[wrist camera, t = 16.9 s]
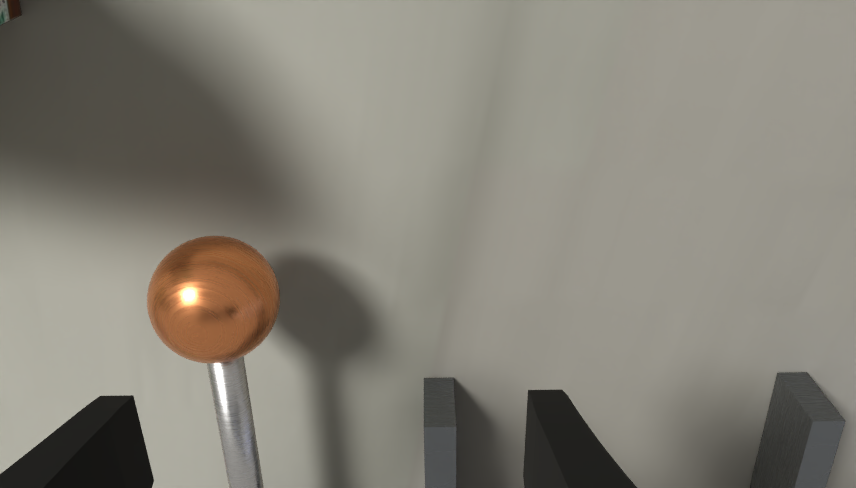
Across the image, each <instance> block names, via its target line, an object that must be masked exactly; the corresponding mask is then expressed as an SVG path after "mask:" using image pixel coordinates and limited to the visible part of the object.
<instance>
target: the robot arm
mask: <svg viewBox="0 0 856 488" xmlns="http://www.w3.org/2000/svg"><path fill="white" fill-rule="evenodd" d="M523 477H524V486H525V488H637V487H636V486H635V485H634V484H633V482H632V481H631V480H630V479H629V478H628V477H627V475H626V474H625V473H624V472H623V470H622V469H621V468H620V467H619V466H618V464H617V463H616V462H615V461H614V459H613V458H612V457H611V456H610V454H609V453H608V452H607V451H606V449H605V448H604V447H603V446H602V444H601V443H600V442H599V440H598V439H597V438H596V436H595V435H594V433H593V432H592V431H591V429H590V428H589V427H588V425H587V424H586V422H585V421H584V420H583V418H582V417H581V415H580V414H579V412H578V411H577V409H576V408H575V406H574V405H573V403H572V402H571V400H570V399H569V397H568V395H567V394H566V393H565V392H564V391H563V390H528V402H527V420H526V438H525V456H524V474H523ZM153 482H154V479H153V475H152V471H151V467H150V463H149V458H148V454H147V450H146V446H145V442H144V438H143V434H142V430H141V425H140V421H139V417H138V413H137V409H136V405H135V401H134V397H133V396H100V397H98V398H97V399H95V400H94V401H93V402H91V403H90V404H89V405H87V406H86V407H85V408H83V409H82V410H81V411H79V412H78V413H77V414H76V415H74V416H73V417H72V418H71V419H69V420H68V421H67V422H66V423H64V424H63V425H62V426H61V427H59V428H58V429H57V430H56V431H54V432H53V433H52V434H51V435H49V436H48V437H47V438H46V439H44V440H43V441H42V442H41V443H39V444H38V445H37V446H36V447H34V448H33V449H32V450H31V451H29V452H28V453H27V454H25V455H24V456H23V457H22V458H20V459H19V460H18V461H17V462H15V463H14V464H13V465H12V466H10V467H9V468H8V469H6V470H5V471H4V472H3V473H1V474H0V488H152V485H153Z"/></svg>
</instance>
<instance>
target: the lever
mask: <svg viewBox="0 0 856 488" xmlns="http://www.w3.org/2000/svg"><path fill="white" fill-rule="evenodd" d="M279 304H280V293H279V286H278V282H277V279H276V276H275V273H274V271H273V269H272V267H271V266H270V264H269V263H268V261H267V260H266V259H265V258H264V257H263V256H262V255H261V254H260V253H259V252H258V251H257V250H256V249H254V248H253V247H251V246H250V245H248V244H246V243H244V242H242V241H240V240H237V239H234V238H230V237H224V236H205V237H200V238H196V239H193V240H190V241H187V242H185V243H183V244H181V245H180V246H178V247H177V248H175V249H174V250H172V251H171V252H170V253H169V254H168V255H167V256H166V257H165V258H164V259H163V260H162V261H161V262H160V264H159V265H158V266H157V268H156V270H155V272H154V274H153V276H152V278H151V281H150V284H149V288H148V294H147V308H148V314H149V317H150V321H151V324H152V326H153V328H154V330H155V332H156V333H157V335H158V336H159V338H160V339H161V340H162V341H163V343H164V344H165V345H166V346H167V347H168V348H170V349H171V350H172V351H174V352H175V353H177V354H178V355H180V356H182V357H184V358H186V359H189V360H192V361H196V362H201V363H207V367H208V373H209V378H210V384H211V389H212V395H213V400H214V406H215V411H216V417H217V422H218V428H219V433H220V439H221V444H222V450H223V455H224V461H225V466H226V472H227V477H228V483H229V488H264V487H263V480H262V474H261V467H260V461H259V454H258V448H257V441H256V435H255V428H254V422H253V415H252V409H251V402H250V396H249V389H248V383H247V376H246V369H245V363H244V355H246V354H248V353H249V352H251V351H252V350H254V349H255V348H256V347H257V346H259V345H260V344H261V343H262V342H263V340H264V339H265V338H266V337H267V336H268V334H269V333H270V331H271V329H272V327H273V325H274V323H275V321H276V318H277V315H278V311H279Z"/></svg>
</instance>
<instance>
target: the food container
mask: <svg viewBox="0 0 856 488" xmlns="http://www.w3.org/2000/svg"><path fill="white" fill-rule="evenodd" d="M19 16H21V8H20V1H19V0H0V25H1V24H3V23H5V22H8V21H10V20H12V19H14V18H16V17H19Z"/></svg>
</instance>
